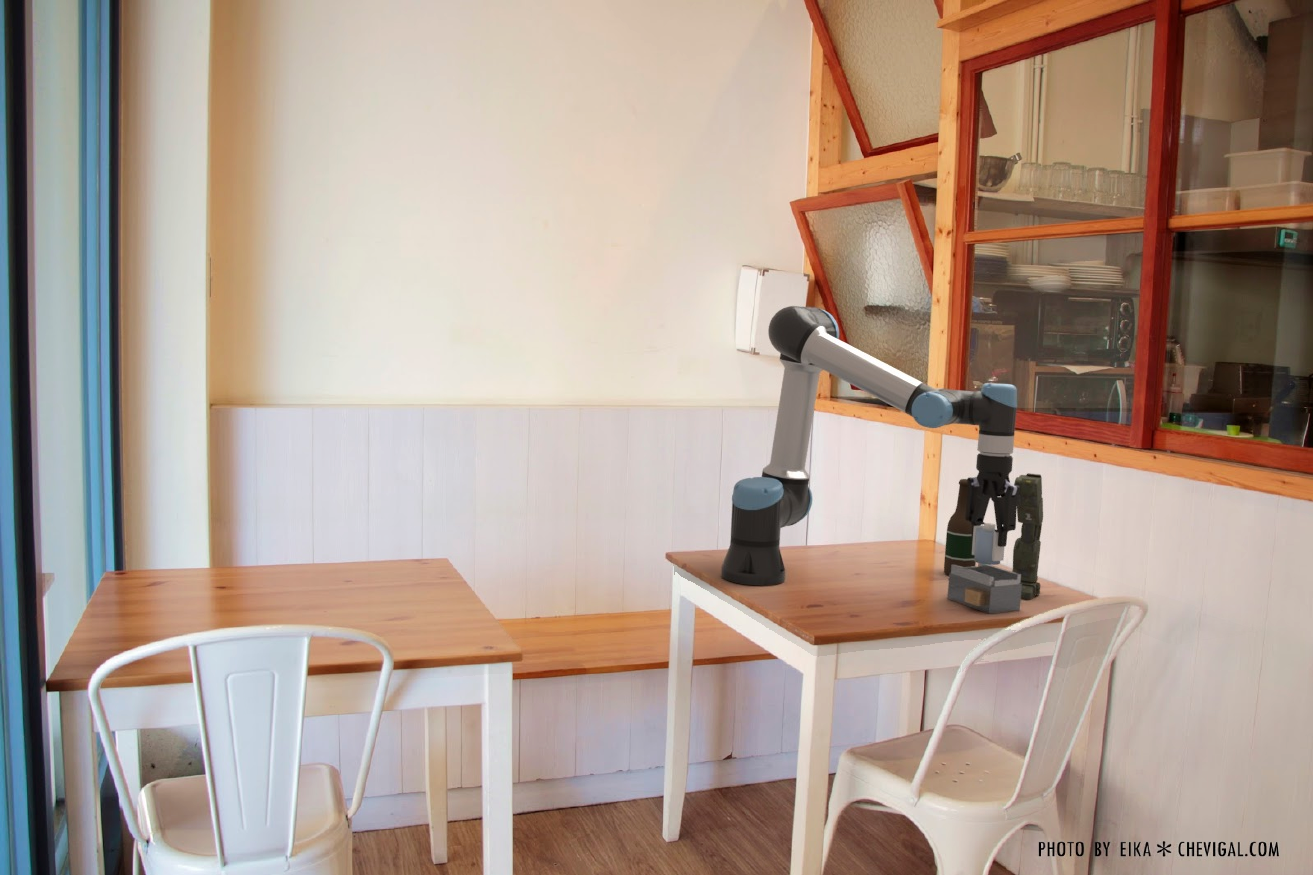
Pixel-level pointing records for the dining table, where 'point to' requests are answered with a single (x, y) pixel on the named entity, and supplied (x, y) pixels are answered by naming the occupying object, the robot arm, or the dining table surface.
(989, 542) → the light blue bottle
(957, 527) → the beer bottle
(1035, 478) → the mechanical leg
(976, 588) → the open grey metal box
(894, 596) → the dining table surface
